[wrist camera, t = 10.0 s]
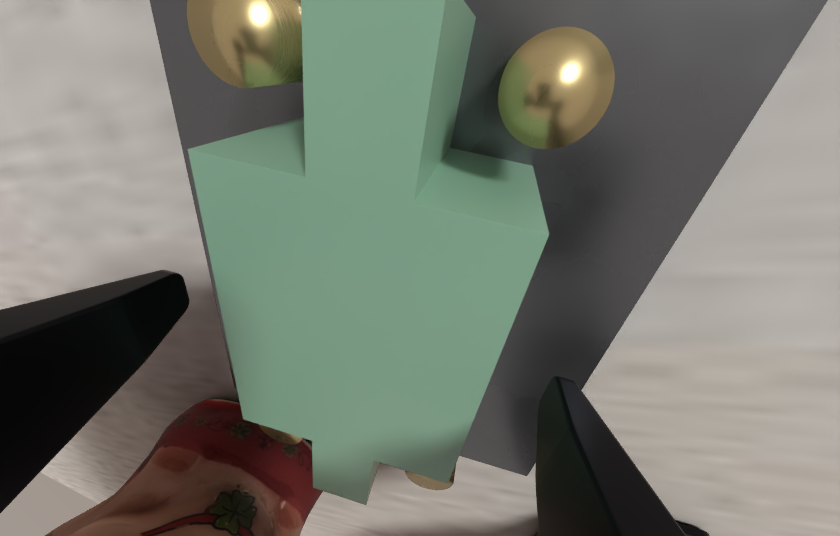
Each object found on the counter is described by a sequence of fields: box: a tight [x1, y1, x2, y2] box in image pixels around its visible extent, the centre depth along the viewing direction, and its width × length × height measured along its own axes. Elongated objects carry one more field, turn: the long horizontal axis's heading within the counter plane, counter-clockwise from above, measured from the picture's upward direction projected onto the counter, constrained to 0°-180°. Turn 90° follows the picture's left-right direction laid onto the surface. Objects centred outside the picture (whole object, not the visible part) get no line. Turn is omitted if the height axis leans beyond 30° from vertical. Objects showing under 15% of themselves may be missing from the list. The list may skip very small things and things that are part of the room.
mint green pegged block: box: [188, 0, 549, 505], centre depth 9 cm, size 6×13×4 cm, turn 171°
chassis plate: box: [150, 0, 828, 490], centre depth 10 cm, size 14×18×4 cm
